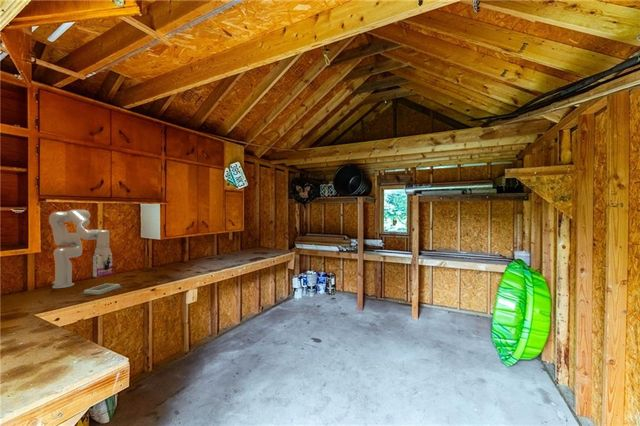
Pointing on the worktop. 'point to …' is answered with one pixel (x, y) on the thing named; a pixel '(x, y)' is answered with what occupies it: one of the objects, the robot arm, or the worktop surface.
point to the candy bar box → (101, 267)
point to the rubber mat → (103, 292)
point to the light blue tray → (95, 291)
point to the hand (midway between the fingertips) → (102, 269)
